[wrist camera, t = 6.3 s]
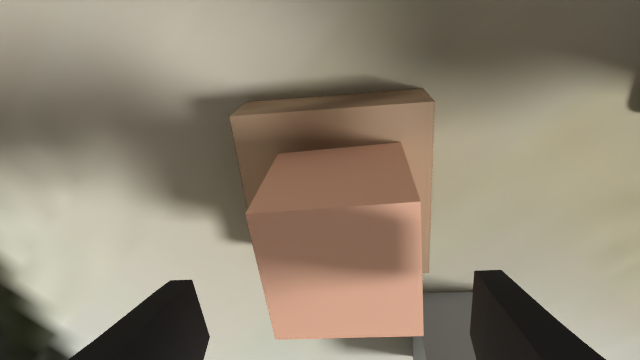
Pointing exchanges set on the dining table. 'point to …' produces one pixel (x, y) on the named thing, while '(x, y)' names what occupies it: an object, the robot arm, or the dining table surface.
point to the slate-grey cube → (445, 327)
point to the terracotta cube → (340, 243)
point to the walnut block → (339, 135)
